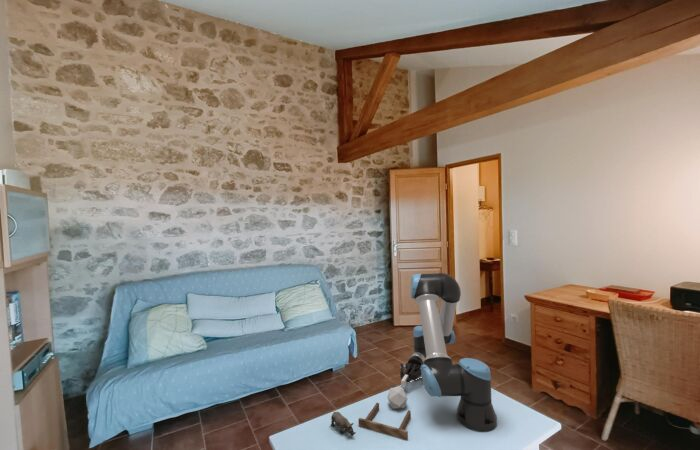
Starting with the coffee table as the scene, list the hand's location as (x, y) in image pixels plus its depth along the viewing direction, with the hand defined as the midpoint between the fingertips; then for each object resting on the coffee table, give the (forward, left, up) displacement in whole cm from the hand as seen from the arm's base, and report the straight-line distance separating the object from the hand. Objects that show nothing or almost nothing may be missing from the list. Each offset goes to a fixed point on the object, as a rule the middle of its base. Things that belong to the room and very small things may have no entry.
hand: (402, 383), depth 147 cm
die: (0, +9, -6) cm, 11 cm away
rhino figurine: (+14, +33, -6) cm, 36 cm away
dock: (0, +21, -6) cm, 22 cm away
